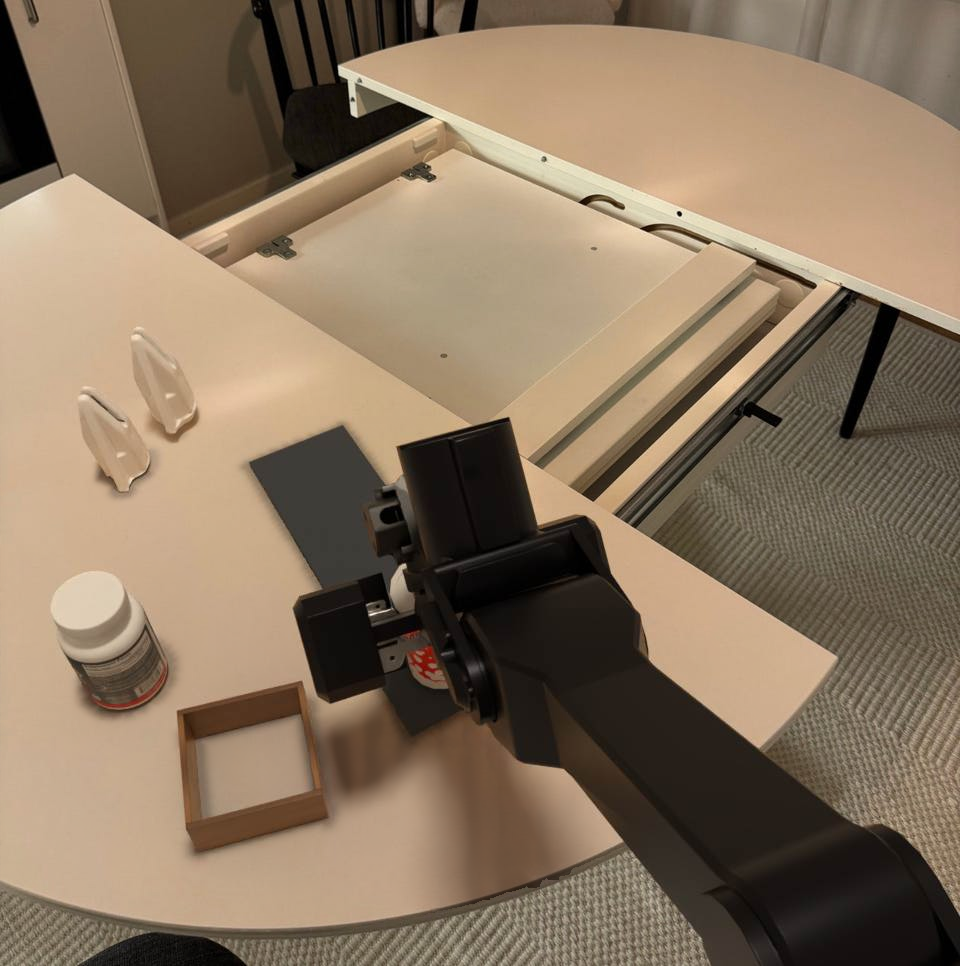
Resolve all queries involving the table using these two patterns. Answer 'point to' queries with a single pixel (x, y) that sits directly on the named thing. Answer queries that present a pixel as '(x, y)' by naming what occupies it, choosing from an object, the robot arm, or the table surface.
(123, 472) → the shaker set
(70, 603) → the pill bottle
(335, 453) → the mat
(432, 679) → the beverage cup
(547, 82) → the table surface
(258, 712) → the square wooden frame
